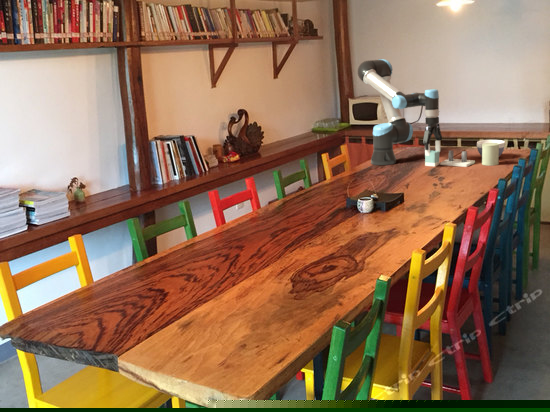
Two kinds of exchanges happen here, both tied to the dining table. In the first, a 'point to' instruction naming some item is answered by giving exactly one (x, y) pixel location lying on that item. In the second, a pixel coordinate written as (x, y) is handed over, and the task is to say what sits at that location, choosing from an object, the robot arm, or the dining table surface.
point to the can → (490, 154)
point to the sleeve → (432, 159)
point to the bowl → (500, 142)
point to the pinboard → (457, 160)
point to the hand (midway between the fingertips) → (432, 153)
